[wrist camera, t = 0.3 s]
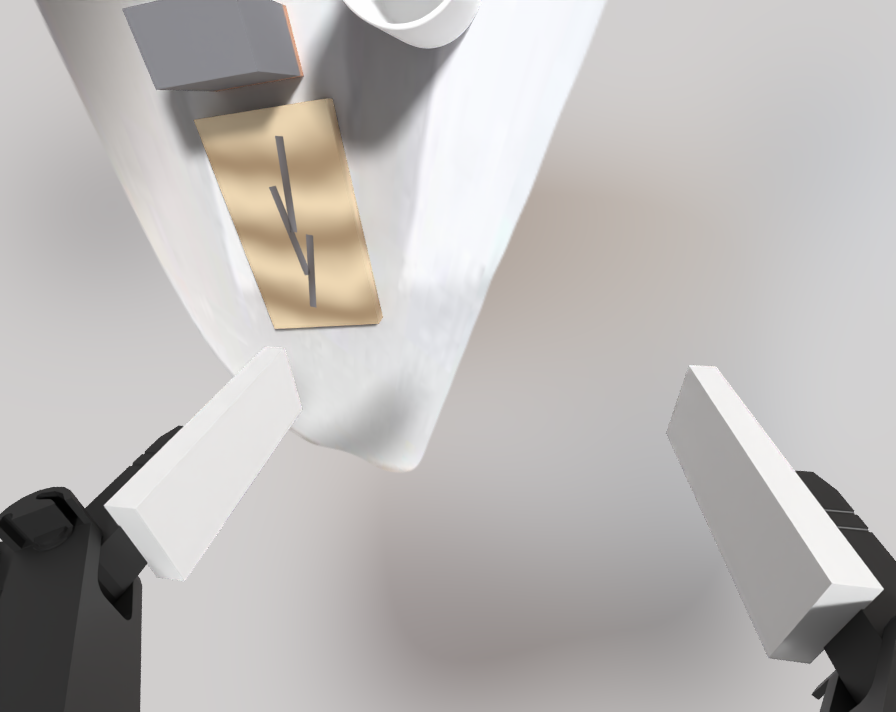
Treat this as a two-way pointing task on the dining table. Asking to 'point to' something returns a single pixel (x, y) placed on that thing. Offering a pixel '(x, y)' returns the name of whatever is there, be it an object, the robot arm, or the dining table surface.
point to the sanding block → (214, 43)
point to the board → (295, 212)
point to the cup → (418, 19)
